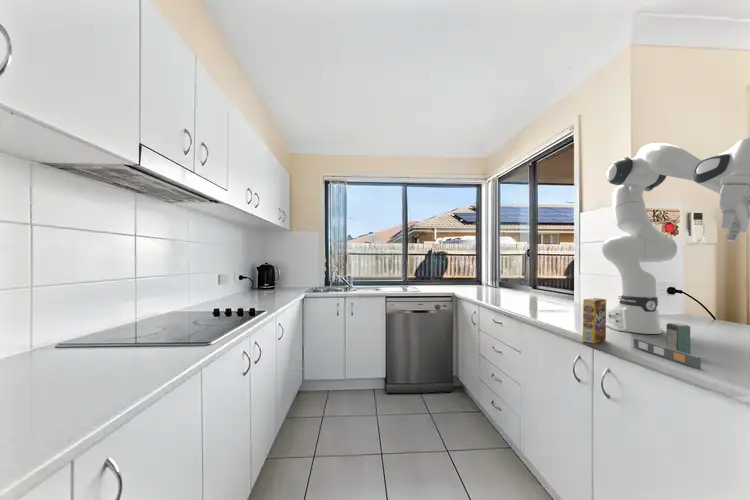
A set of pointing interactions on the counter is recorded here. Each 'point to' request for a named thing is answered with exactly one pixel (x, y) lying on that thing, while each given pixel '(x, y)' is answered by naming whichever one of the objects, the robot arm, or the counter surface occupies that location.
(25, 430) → the counter surface
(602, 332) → the candy box
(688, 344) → the tea tin
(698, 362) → the rail
